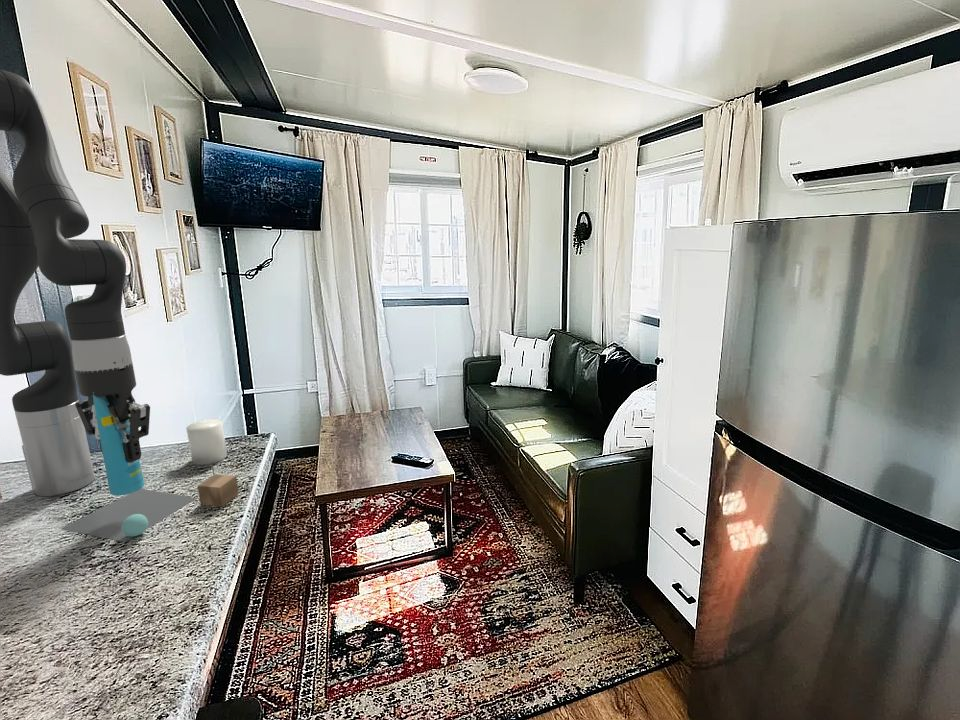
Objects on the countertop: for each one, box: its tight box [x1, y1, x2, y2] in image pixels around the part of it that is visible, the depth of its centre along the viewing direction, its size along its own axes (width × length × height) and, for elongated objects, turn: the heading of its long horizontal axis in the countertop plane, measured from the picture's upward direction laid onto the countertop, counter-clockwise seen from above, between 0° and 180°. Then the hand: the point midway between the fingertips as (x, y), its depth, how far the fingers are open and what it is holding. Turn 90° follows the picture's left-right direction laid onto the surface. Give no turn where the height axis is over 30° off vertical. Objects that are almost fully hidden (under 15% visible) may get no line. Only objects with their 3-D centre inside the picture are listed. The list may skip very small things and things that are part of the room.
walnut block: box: [197, 473, 239, 507], centre depth 87 cm, size 4×4×4 cm
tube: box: [93, 392, 145, 497], centre depth 79 cm, size 7×5×19 cm, turn 12°
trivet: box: [61, 488, 198, 543], centre depth 83 cm, size 14×14×1 cm
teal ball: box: [122, 514, 148, 538], centre depth 76 cm, size 4×4×4 cm
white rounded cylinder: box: [186, 418, 228, 466], centre depth 105 cm, size 7×7×8 cm
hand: (122, 458), depth 80 cm, fingers closed on tube, 4 cm apart
